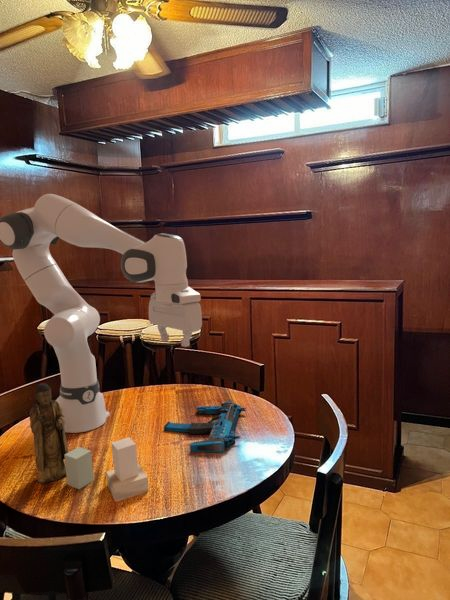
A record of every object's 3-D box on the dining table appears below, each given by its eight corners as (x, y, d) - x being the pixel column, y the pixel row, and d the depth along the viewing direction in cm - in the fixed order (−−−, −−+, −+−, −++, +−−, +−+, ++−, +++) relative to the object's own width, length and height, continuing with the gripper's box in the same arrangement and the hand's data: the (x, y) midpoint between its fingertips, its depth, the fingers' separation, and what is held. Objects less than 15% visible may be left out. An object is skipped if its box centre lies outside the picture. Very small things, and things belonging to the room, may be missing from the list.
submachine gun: (180, 397, 157) (248, 395, 153) (181, 407, 157) (249, 405, 153) (151, 442, 123) (238, 441, 119) (152, 455, 123) (239, 453, 120)
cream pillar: (114, 473, 105) (111, 442, 104) (131, 467, 108) (129, 437, 107) (120, 481, 102) (117, 449, 100) (138, 475, 104) (135, 443, 103)
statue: (27, 488, 107) (16, 392, 103) (45, 468, 116) (35, 379, 112) (63, 488, 106) (53, 391, 103) (78, 468, 115) (69, 378, 112)
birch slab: (107, 486, 107) (106, 471, 106) (138, 477, 111) (137, 462, 110) (115, 503, 100) (114, 487, 99) (148, 492, 104) (147, 477, 103)
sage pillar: (67, 484, 108) (64, 454, 107) (81, 475, 112) (79, 446, 110) (79, 489, 106) (76, 459, 104) (93, 480, 109) (91, 450, 108)
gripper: (141, 292, 122) (144, 339, 125) (185, 298, 108) (188, 351, 110) (160, 290, 127) (162, 335, 129) (204, 295, 112) (207, 346, 114)
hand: (175, 343), depth 119 cm, fingers open, 8 cm apart
